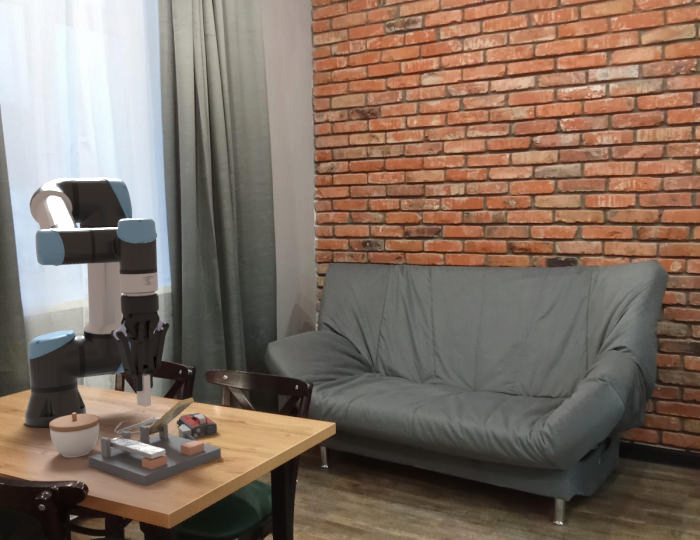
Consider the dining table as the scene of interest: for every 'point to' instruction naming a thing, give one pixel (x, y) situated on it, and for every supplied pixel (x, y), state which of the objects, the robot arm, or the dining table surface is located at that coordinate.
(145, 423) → the crossbow
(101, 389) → the dining table surface
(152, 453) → the steel strap
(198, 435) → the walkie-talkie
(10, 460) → the dining table surface
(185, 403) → the brass strap
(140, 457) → the mount plate
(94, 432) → the lidded jar
